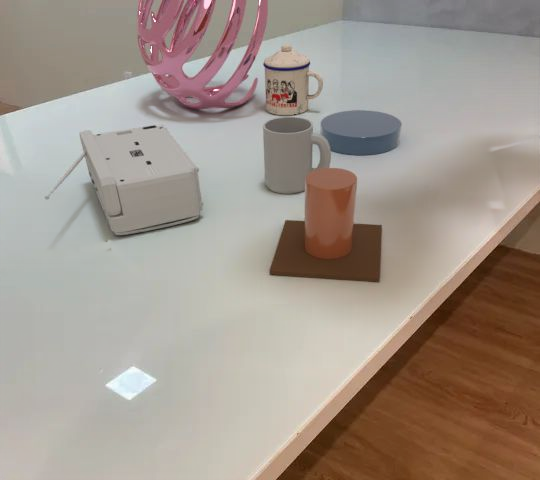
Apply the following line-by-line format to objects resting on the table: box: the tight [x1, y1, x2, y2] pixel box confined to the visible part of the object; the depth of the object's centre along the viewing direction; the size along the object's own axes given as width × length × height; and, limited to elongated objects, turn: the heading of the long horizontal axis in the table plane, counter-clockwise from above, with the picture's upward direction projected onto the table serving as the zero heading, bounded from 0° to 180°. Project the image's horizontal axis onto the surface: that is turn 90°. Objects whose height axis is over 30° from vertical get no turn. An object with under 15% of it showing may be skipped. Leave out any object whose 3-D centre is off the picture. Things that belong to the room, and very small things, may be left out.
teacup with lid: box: [262, 43, 324, 116], centre depth 109 cm, size 12×9×12 cm
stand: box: [319, 109, 403, 156], centre depth 98 cm, size 14×14×3 cm
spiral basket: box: [136, 0, 269, 110], centre depth 110 cm, size 28×28×27 cm
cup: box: [262, 116, 332, 195], centre depth 83 cm, size 7×10×9 cm
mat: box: [269, 219, 383, 283], centre depth 70 cm, size 13×13×1 cm
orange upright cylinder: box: [304, 167, 358, 259], centre depth 67 cm, size 6×6×9 cm
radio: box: [44, 124, 204, 236], centre depth 80 cm, size 21×8×20 cm
